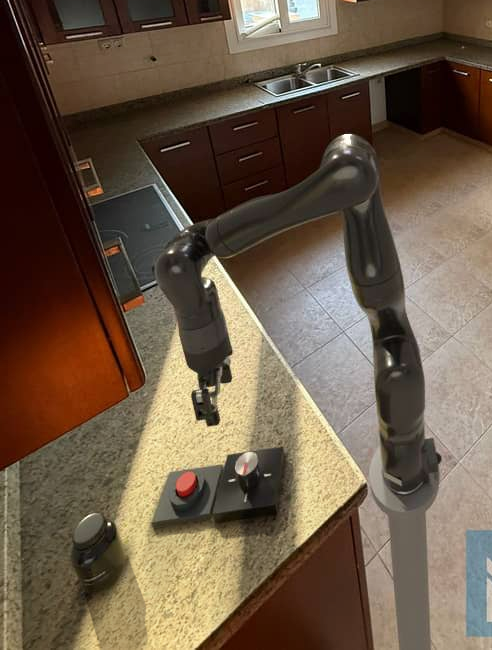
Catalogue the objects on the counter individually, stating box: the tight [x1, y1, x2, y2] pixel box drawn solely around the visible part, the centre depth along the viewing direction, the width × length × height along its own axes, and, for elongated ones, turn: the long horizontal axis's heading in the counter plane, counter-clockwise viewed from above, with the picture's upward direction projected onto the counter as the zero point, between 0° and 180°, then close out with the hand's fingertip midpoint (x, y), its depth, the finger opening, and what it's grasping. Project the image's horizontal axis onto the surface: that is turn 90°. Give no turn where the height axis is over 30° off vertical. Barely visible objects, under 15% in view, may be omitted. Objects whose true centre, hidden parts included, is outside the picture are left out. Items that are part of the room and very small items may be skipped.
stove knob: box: [235, 451, 261, 490], centre depth 88 cm, size 4×4×5 cm
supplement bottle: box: [69, 511, 127, 595], centre depth 76 cm, size 7×7×12 cm
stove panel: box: [212, 446, 286, 525], centre depth 89 cm, size 12×11×3 cm
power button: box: [176, 472, 197, 497], centre depth 87 cm, size 4×4×2 cm
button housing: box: [150, 464, 224, 529], centre depth 88 cm, size 11×9×4 cm
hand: (220, 401), depth 81 cm, fingers open, 8 cm apart
